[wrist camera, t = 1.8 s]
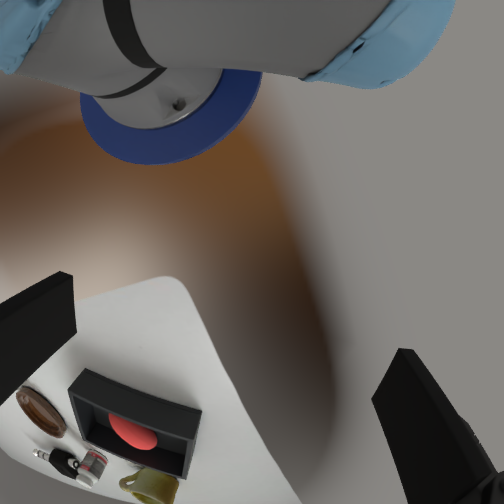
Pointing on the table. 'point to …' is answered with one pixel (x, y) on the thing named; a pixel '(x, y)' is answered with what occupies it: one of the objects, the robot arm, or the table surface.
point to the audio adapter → (61, 462)
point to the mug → (151, 486)
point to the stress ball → (133, 433)
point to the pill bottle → (91, 468)
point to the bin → (141, 413)
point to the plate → (41, 412)
